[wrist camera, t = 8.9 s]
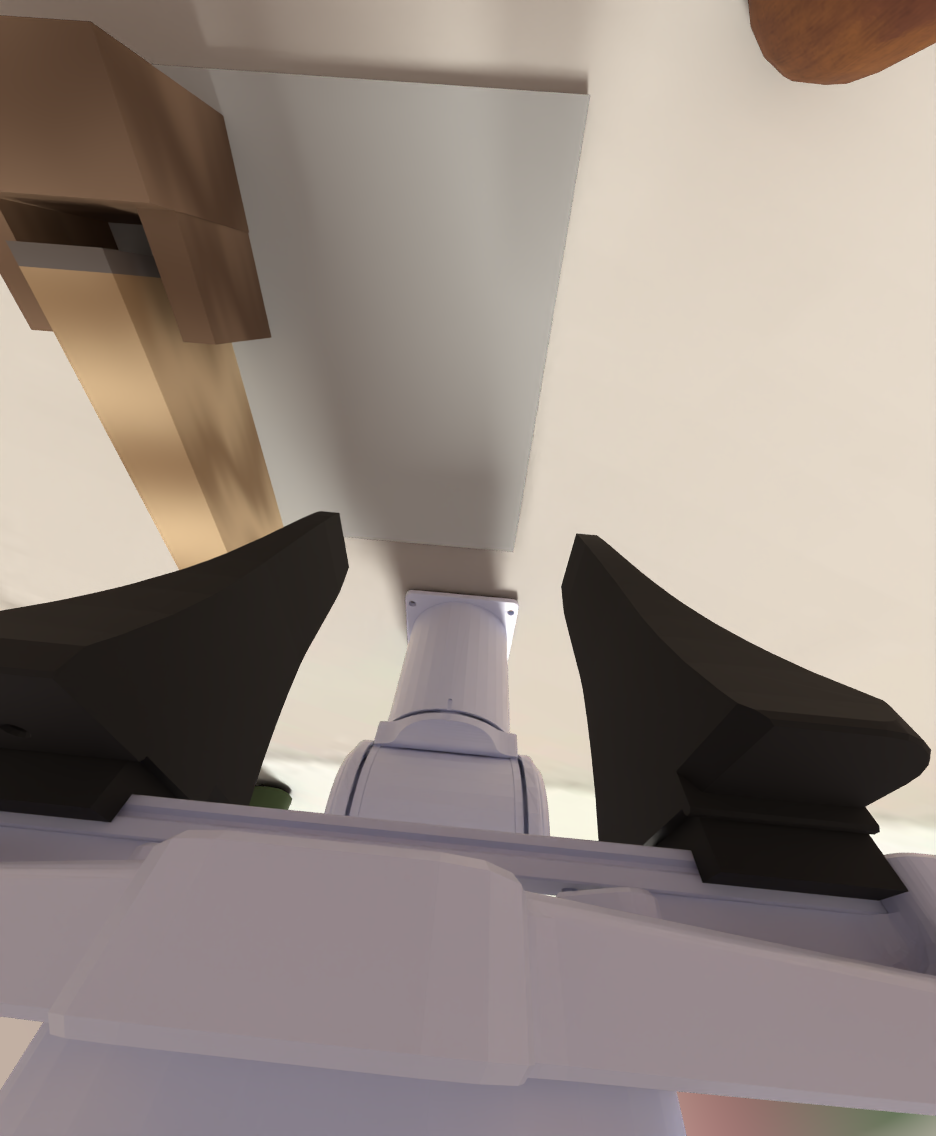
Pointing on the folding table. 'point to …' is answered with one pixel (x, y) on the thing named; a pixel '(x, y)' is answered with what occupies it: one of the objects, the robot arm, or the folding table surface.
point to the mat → (397, 291)
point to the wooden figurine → (840, 36)
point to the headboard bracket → (121, 173)
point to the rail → (158, 397)
